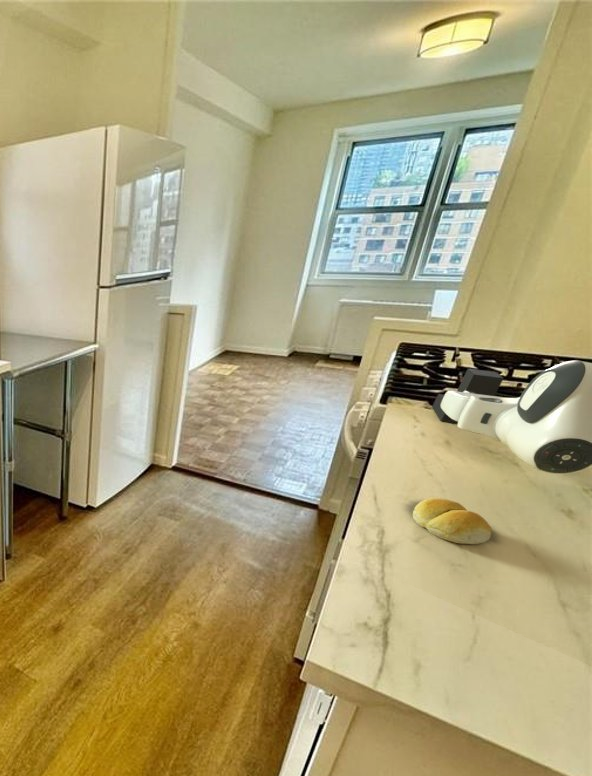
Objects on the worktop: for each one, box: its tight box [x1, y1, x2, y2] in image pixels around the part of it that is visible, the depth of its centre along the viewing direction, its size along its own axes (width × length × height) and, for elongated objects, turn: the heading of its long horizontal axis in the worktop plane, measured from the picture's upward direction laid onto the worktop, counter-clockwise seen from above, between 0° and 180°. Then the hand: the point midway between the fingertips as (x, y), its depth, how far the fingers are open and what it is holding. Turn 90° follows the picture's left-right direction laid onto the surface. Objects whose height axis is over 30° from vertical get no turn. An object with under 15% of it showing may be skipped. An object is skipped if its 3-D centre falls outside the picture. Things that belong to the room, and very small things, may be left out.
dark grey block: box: [456, 368, 505, 396], centre depth 110 cm, size 5×5×10 cm
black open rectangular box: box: [432, 393, 458, 425], centre depth 112 cm, size 10×10×4 cm
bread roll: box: [412, 497, 492, 545], centre depth 74 cm, size 8×9×4 cm
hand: (494, 398), depth 102 cm, fingers open, 8 cm apart
